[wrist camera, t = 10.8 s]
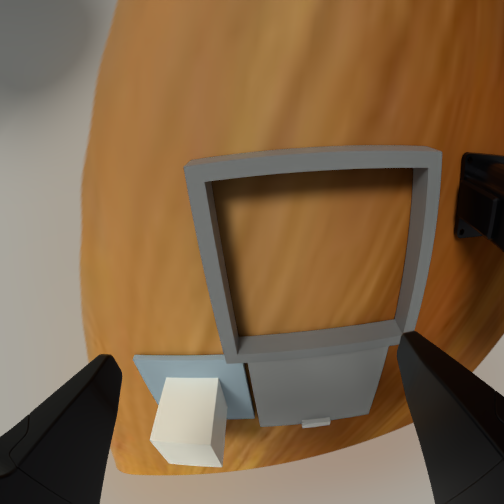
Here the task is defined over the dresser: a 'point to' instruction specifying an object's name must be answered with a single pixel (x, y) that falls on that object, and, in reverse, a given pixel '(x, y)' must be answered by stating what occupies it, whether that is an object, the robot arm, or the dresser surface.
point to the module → (191, 422)
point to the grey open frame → (326, 340)
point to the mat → (199, 367)
